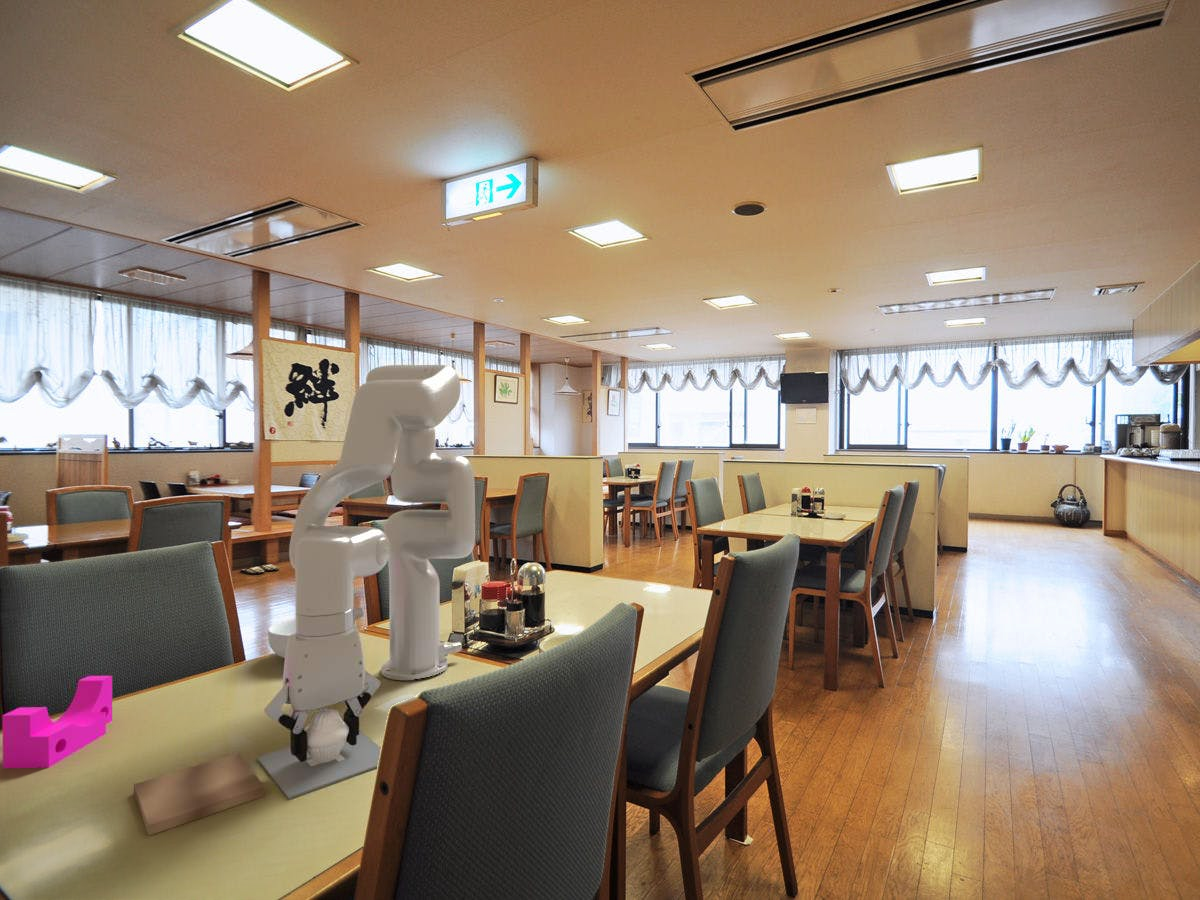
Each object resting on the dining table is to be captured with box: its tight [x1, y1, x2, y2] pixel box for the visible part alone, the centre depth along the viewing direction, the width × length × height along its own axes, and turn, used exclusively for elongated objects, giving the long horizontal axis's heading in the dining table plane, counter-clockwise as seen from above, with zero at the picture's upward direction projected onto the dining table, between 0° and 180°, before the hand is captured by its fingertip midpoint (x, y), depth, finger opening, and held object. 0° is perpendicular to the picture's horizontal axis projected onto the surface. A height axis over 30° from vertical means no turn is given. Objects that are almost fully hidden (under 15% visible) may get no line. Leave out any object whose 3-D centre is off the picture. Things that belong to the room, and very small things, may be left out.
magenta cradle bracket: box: [2, 675, 113, 769], centre depth 95 cm, size 15×6×8 cm, turn 1°
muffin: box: [304, 707, 349, 763], centre depth 89 cm, size 6×6×7 cm
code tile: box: [256, 729, 382, 800], centre depth 89 cm, size 14×14×1 cm
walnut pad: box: [133, 752, 265, 836], centre depth 80 cm, size 12×12×1 cm
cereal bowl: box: [267, 618, 357, 659], centre depth 133 cm, size 17×17×7 cm
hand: (325, 748), depth 89 cm, fingers closed on muffin, 6 cm apart
